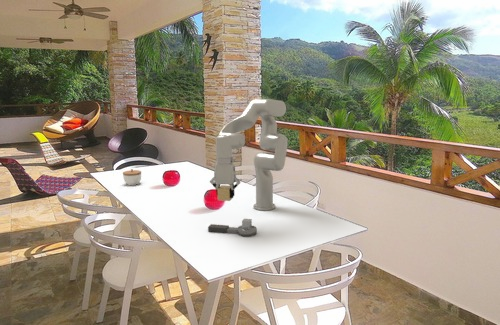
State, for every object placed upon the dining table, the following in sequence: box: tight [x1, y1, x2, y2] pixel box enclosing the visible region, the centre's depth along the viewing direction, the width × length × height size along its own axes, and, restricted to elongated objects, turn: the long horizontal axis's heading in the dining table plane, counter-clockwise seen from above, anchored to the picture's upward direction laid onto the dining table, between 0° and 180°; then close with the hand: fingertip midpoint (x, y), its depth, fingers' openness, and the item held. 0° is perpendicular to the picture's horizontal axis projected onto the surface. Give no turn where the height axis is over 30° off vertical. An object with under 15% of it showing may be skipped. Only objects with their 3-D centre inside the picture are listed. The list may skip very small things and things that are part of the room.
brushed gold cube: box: [217, 184, 233, 202], centre depth 195 cm, size 6×6×6 cm
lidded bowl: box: [122, 169, 142, 186], centre depth 286 cm, size 13×13×11 cm
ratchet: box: [207, 218, 258, 238], centre depth 188 cm, size 9×23×6 cm, turn 75°
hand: (225, 196), depth 195 cm, fingers closed on brushed gold cube, 6 cm apart
